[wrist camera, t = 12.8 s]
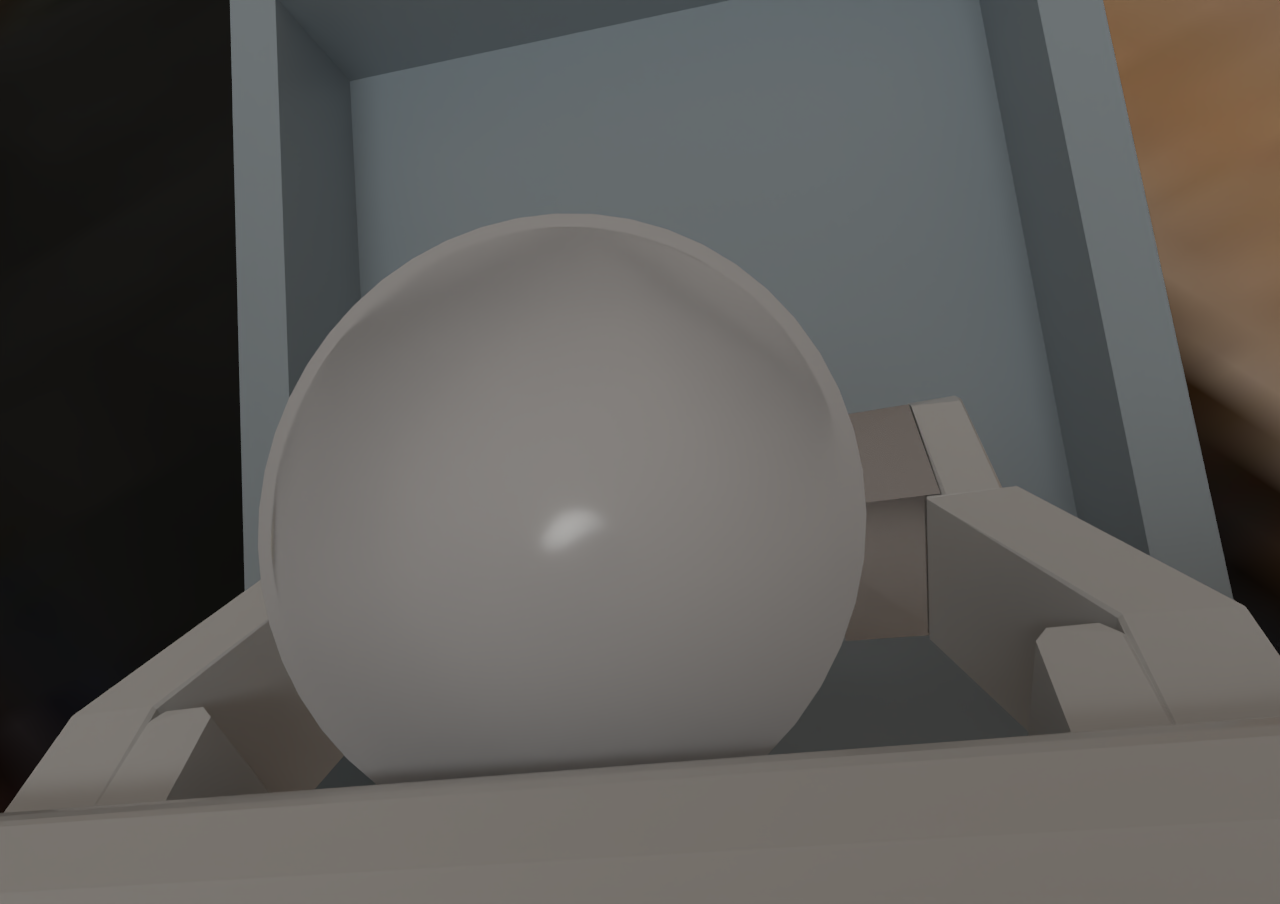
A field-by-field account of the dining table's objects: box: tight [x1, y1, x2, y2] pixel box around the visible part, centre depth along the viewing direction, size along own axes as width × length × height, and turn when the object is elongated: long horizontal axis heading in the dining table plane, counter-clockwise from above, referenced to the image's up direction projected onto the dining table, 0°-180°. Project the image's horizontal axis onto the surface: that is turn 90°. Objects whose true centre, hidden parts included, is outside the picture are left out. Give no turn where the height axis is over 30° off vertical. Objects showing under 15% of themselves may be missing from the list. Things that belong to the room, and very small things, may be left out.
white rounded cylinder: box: [258, 214, 867, 785], centre depth 10 cm, size 4×4×9 cm
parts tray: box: [230, 0, 1233, 789], centre depth 16 cm, size 16×24×4 cm, turn 6°
